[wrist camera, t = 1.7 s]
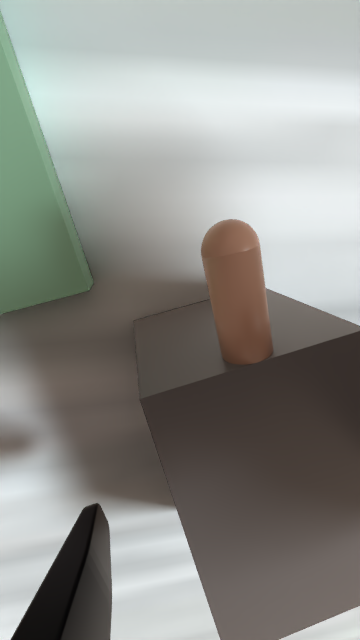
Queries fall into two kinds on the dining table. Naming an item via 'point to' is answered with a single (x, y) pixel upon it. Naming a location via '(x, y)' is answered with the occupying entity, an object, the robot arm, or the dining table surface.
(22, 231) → the pin board
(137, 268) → the dining table surface
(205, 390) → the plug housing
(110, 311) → the dining table surface
